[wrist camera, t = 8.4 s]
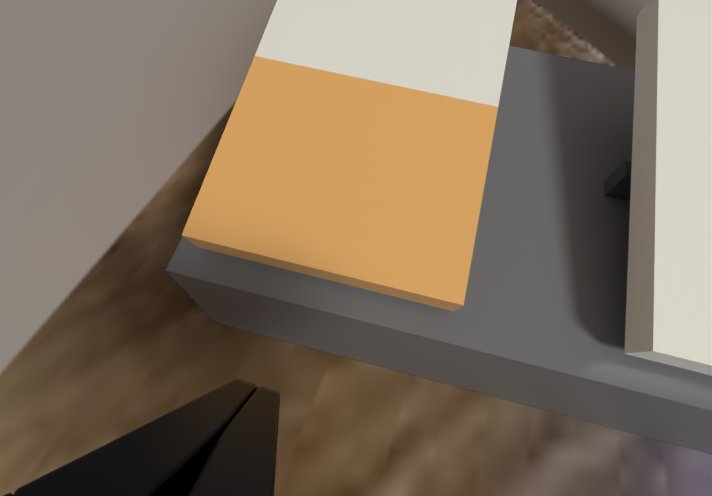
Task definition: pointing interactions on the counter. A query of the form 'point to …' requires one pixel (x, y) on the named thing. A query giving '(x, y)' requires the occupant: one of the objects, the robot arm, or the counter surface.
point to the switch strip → (505, 273)
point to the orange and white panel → (362, 144)
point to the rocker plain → (671, 188)
